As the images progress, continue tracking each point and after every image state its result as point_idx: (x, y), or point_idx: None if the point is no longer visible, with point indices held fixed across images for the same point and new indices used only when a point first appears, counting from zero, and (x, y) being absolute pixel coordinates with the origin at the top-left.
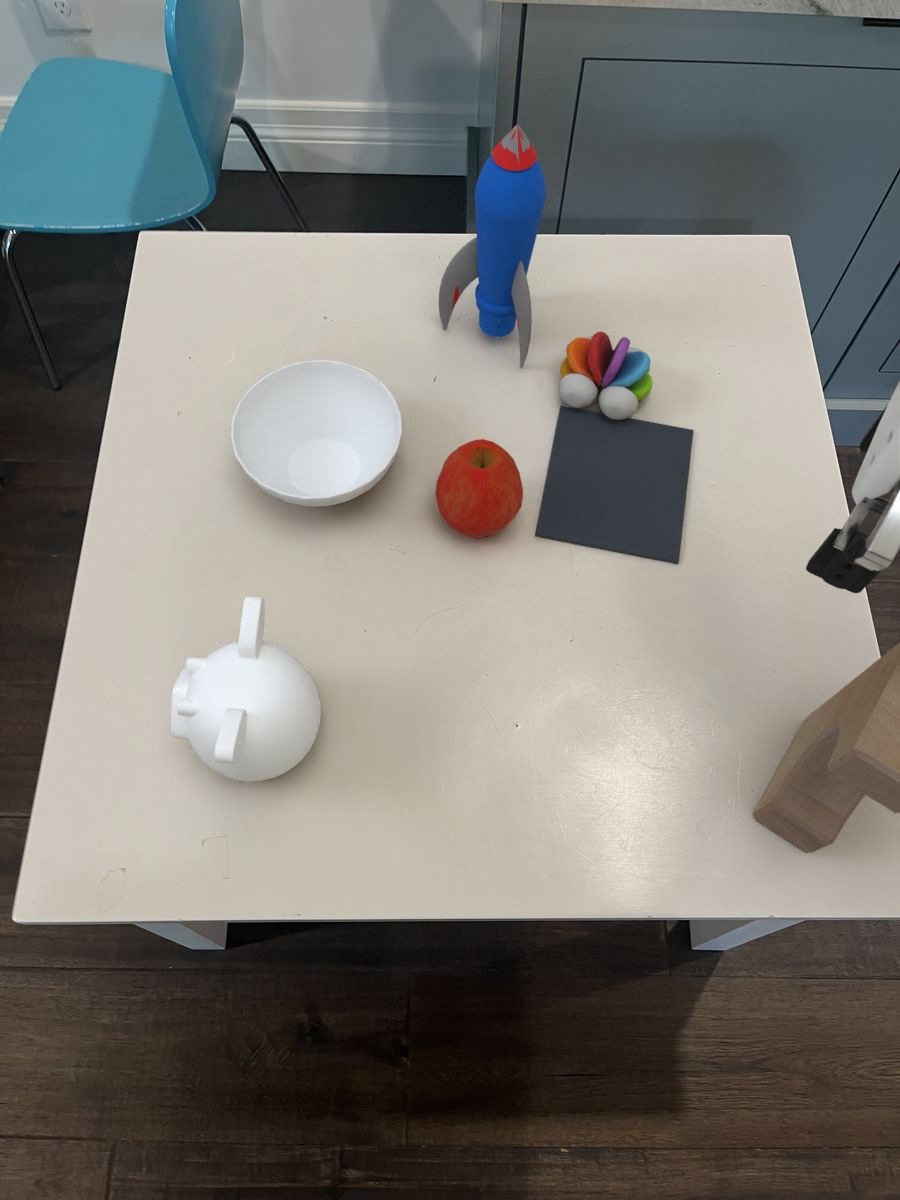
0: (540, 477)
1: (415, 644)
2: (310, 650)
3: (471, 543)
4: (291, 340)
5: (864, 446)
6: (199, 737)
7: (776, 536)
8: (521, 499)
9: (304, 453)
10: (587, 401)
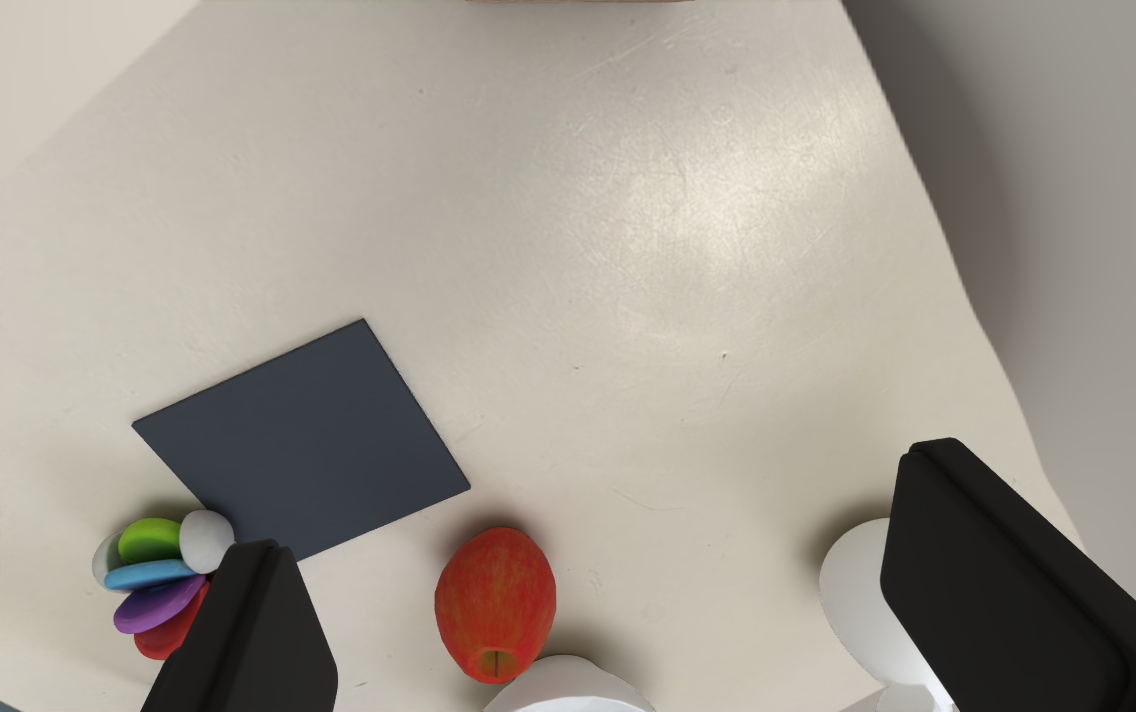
0: (386, 528)
1: (693, 499)
2: (760, 568)
3: (534, 531)
4: None
5: (332, 699)
6: None
7: (186, 215)
8: (477, 562)
9: (556, 708)
10: None
